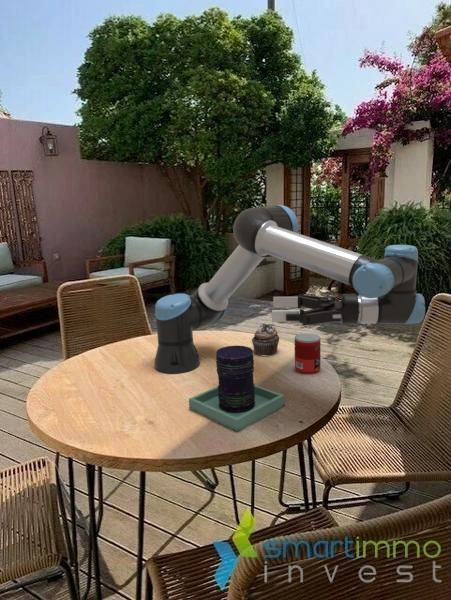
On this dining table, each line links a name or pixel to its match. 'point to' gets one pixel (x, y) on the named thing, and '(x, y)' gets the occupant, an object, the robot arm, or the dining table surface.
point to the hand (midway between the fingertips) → (272, 308)
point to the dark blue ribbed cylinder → (235, 379)
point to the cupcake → (266, 340)
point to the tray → (236, 421)
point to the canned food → (307, 353)
